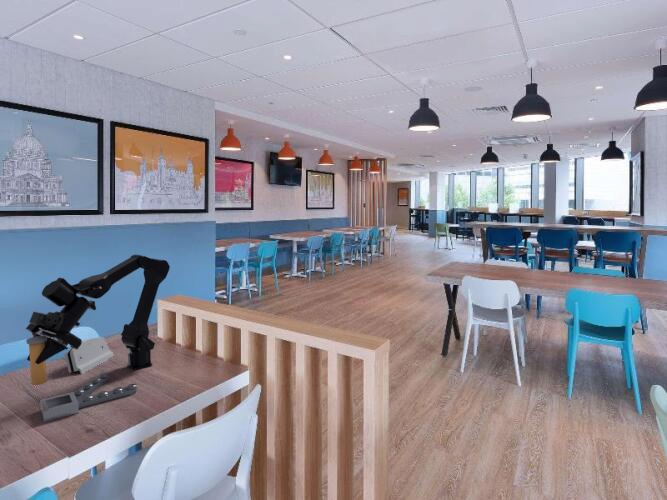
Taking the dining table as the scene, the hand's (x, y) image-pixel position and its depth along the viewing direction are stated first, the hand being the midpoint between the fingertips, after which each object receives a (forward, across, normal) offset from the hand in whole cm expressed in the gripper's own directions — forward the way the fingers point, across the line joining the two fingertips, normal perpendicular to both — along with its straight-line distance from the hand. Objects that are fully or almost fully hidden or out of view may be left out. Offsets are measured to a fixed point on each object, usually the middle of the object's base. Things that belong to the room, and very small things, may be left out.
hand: (32, 362), depth 115 cm
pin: (+4, 0, +6) cm, 7 cm away
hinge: (-9, -16, +28) cm, 34 cm away
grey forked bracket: (+1, +6, +18) cm, 19 cm away
